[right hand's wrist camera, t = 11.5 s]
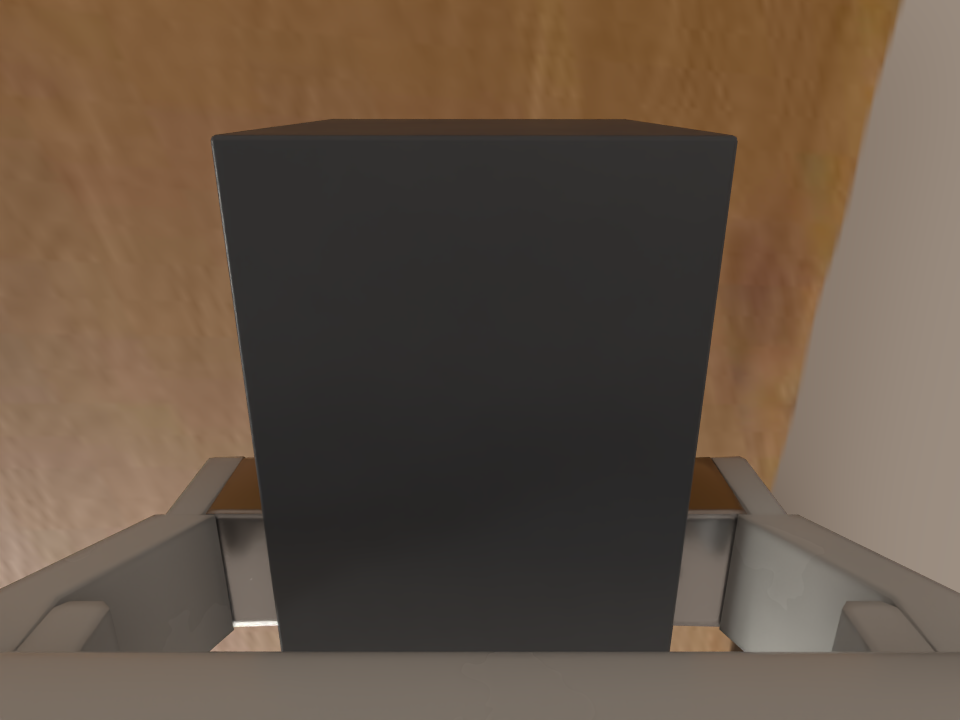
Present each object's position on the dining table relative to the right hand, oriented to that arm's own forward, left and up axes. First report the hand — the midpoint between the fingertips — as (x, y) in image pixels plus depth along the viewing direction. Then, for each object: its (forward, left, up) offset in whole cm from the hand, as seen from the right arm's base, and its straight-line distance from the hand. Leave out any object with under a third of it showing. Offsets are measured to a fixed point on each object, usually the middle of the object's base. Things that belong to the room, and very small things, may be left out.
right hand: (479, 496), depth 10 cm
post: (+19, -9, -3) cm, 21 cm away
